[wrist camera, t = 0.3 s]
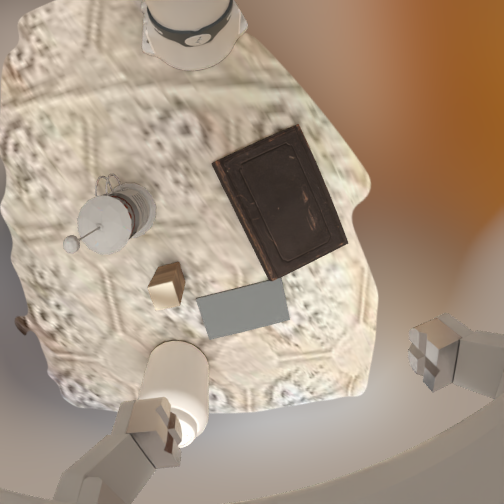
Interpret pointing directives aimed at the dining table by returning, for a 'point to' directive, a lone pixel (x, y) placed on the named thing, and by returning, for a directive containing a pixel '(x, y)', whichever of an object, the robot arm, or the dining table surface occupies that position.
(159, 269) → the walnut block
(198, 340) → the dining table surface
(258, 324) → the rubber mat
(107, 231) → the french press
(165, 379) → the white lidded jar
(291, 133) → the hardcover book
